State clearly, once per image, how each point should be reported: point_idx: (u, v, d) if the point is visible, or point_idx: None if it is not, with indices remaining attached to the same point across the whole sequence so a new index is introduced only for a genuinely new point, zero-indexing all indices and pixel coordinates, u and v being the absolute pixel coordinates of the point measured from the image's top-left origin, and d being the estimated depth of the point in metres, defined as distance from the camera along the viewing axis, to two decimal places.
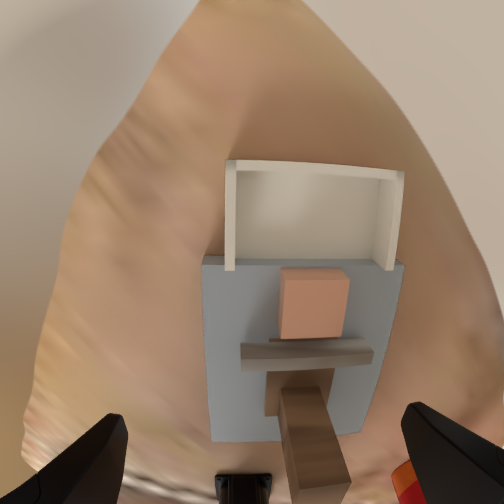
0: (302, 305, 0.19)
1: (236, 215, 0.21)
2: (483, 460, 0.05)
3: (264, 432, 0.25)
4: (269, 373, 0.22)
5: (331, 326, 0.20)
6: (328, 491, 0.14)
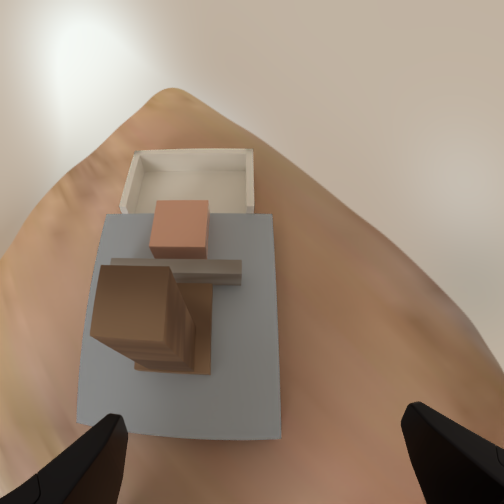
0: (168, 218, 0.23)
1: (139, 196, 0.28)
2: (483, 460, 0.05)
3: (138, 413, 0.18)
4: None
5: (194, 236, 0.22)
6: (137, 283, 0.12)
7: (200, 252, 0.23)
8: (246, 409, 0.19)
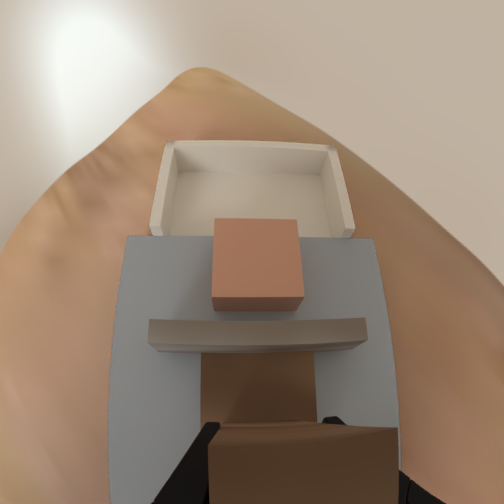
0: (239, 248, 0.15)
1: (174, 207, 0.20)
2: None
3: None
4: (202, 387, 0.13)
5: (285, 279, 0.14)
6: (328, 483, 0.04)
7: (292, 303, 0.14)
8: None
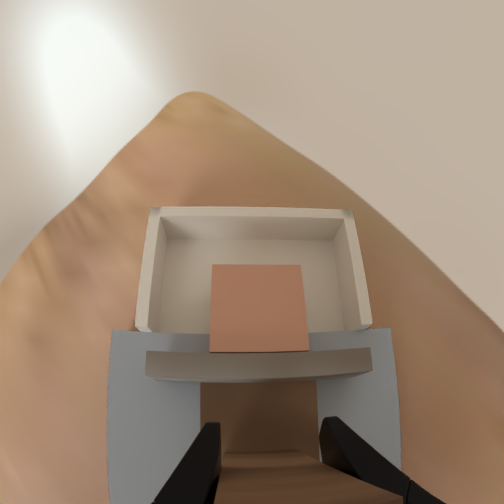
0: (238, 298, 0.14)
1: (163, 287, 0.17)
2: None
3: None
4: (202, 417, 0.12)
5: (289, 331, 0.13)
6: None
7: None
8: None
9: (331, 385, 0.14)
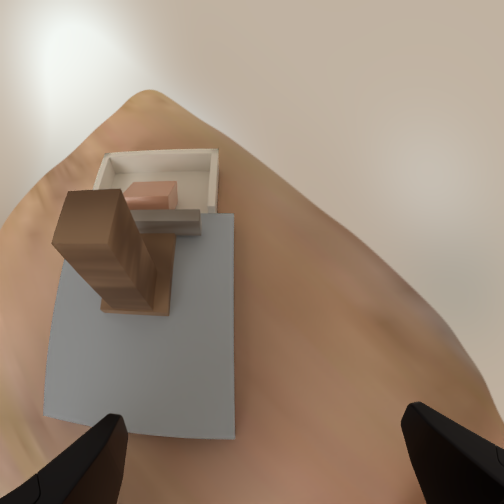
0: (140, 187, 0.25)
1: None
2: (483, 460, 0.05)
3: (98, 408, 0.18)
4: None
5: (160, 192, 0.24)
6: (94, 202, 0.14)
7: (163, 206, 0.24)
8: (200, 408, 0.19)
9: (187, 241, 0.24)
